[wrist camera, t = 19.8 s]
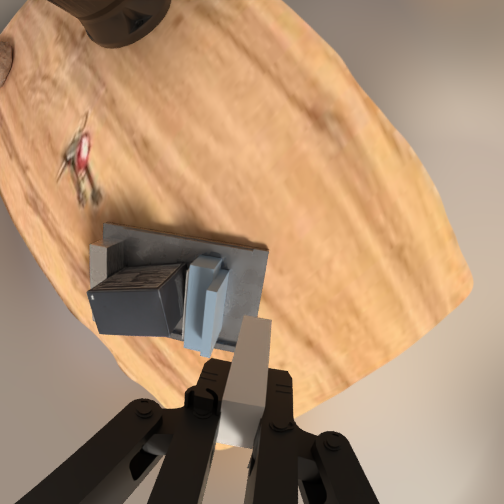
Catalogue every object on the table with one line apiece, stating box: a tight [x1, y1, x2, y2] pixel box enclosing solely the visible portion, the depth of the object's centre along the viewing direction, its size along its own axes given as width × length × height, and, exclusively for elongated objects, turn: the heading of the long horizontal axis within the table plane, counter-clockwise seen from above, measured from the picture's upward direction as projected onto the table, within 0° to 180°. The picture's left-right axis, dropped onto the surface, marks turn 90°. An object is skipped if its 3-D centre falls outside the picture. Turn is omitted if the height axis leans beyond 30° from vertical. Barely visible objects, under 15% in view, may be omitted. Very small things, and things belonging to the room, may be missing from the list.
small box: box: [87, 262, 187, 337], centre depth 37 cm, size 11×6×10 cm, turn 96°
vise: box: [90, 222, 269, 352], centre depth 40 cm, size 16×25×6 cm, turn 81°
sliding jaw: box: [182, 255, 229, 358], centre depth 37 cm, size 12×5×8 cm, turn 171°
